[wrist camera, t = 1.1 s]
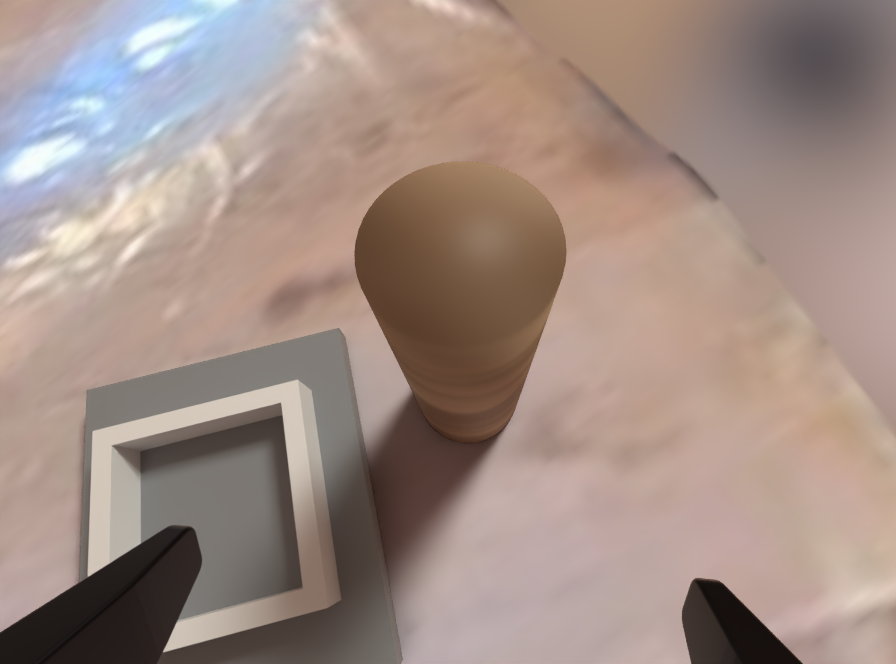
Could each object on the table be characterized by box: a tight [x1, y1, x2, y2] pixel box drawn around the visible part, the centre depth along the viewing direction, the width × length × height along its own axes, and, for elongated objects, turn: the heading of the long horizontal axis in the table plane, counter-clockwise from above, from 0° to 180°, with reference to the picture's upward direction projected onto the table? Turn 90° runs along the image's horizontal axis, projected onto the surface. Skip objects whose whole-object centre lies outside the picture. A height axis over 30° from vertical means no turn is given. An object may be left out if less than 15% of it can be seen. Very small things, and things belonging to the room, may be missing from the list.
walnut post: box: [355, 162, 566, 443], centre depth 16 cm, size 5×5×13 cm
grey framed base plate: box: [79, 328, 403, 664], centre depth 20 cm, size 14×12×3 cm
